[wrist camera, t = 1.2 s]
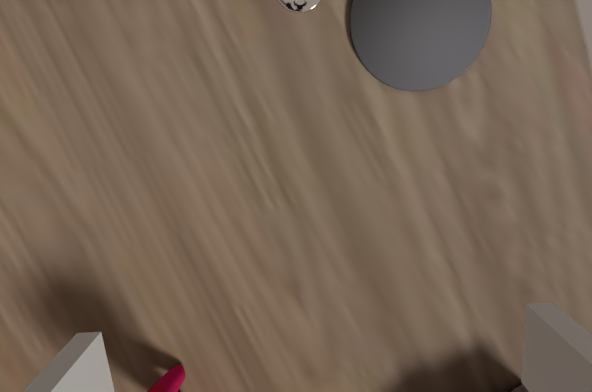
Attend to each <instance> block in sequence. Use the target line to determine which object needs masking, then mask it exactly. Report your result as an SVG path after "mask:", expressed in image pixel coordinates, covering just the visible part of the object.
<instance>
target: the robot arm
mask: <svg viewBox="0 0 592 392" xmlns="http://www.w3.org/2000/svg"><path fill="white" fill-rule="evenodd" d="M521 382H522V383H523V385H524V386H525V387H526V389H527V390H528V391H529V392H592V335H591V334H590V333H589V332H587V331H586V330H585V329H584V328H583V327H581V326H580V325H579V324H578V323H576V322H575V321H574V320H573V319H572V318H570V317H569V316H568V315H567V314H566V313H564V312H563V311H562V310H561V309H559V308H558V307H557V306H556V305H555V304H553V303H537V304H527V305H526V320H525V334H524V348H523V362H522V376H521ZM23 392H114V387H113V383H112V378H111V374H110V369H109V365H108V360H107V356H106V351H105V347H104V342H103V338H102V333H101V332H86V333H77V334H76V335H75V336H74V337H73V338H72V339H71V340H70V341H69V342H68V343H67V344H66V346H65V347H64V348H63V349H62V350H61V351H60V352H59V353H58V354H57V355H56V356H55V357H54V358H53V359H52V361H51V362H50V363H49V364H48V365H47V366H46V367H45V368H44V369H43V370H42V371H41V372H40V373H39V374H38V376H37V377H36V378H35V379H34V380H33V381H32V382H31V383H30V384H29V385H28V386H27V387H26V388H25V389H24V391H23Z"/></svg>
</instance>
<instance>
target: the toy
mask: <svg viewBox="0 0 592 392" xmlns="http://www.w3.org/2000/svg"><path fill="white" fill-rule="evenodd" d="M184 379H185V371H184V368H183V366H181V365H176V366H174V367H173V368H171V369H170V370H169V371H168V372H167V373H166V374H165V375H164V376H163V377H162V378H161V379H160V380H159V381H158V382H157V383H156V384H155V385H154V386H152V387H151V388H150V389H149V390H148V391H147V392H178V390H179V388H180V387H181V385H182V383H183V381H184Z"/></svg>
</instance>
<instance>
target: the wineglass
mask: <svg viewBox="0 0 592 392" xmlns="http://www.w3.org/2000/svg"><path fill="white" fill-rule="evenodd" d="M278 1H279V2H280V4H281V5H282V6H283V7H284V8H286V9H288V10H289V11H292V12H296V13H303V12H307V11H310V10H312V9H313V8H315V7H316V6H317V5H318V4H319V3H320V1H321V0H278Z"/></svg>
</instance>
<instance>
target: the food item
mask: <svg viewBox="0 0 592 392" xmlns="http://www.w3.org/2000/svg"><path fill="white" fill-rule="evenodd" d="M511 392H529V391H528V390H527V389H526V387H525V386H524V385H523V383H522V384H521V385H520V386H519V387H517V388H514V389H513V390H512V391H511Z"/></svg>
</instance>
